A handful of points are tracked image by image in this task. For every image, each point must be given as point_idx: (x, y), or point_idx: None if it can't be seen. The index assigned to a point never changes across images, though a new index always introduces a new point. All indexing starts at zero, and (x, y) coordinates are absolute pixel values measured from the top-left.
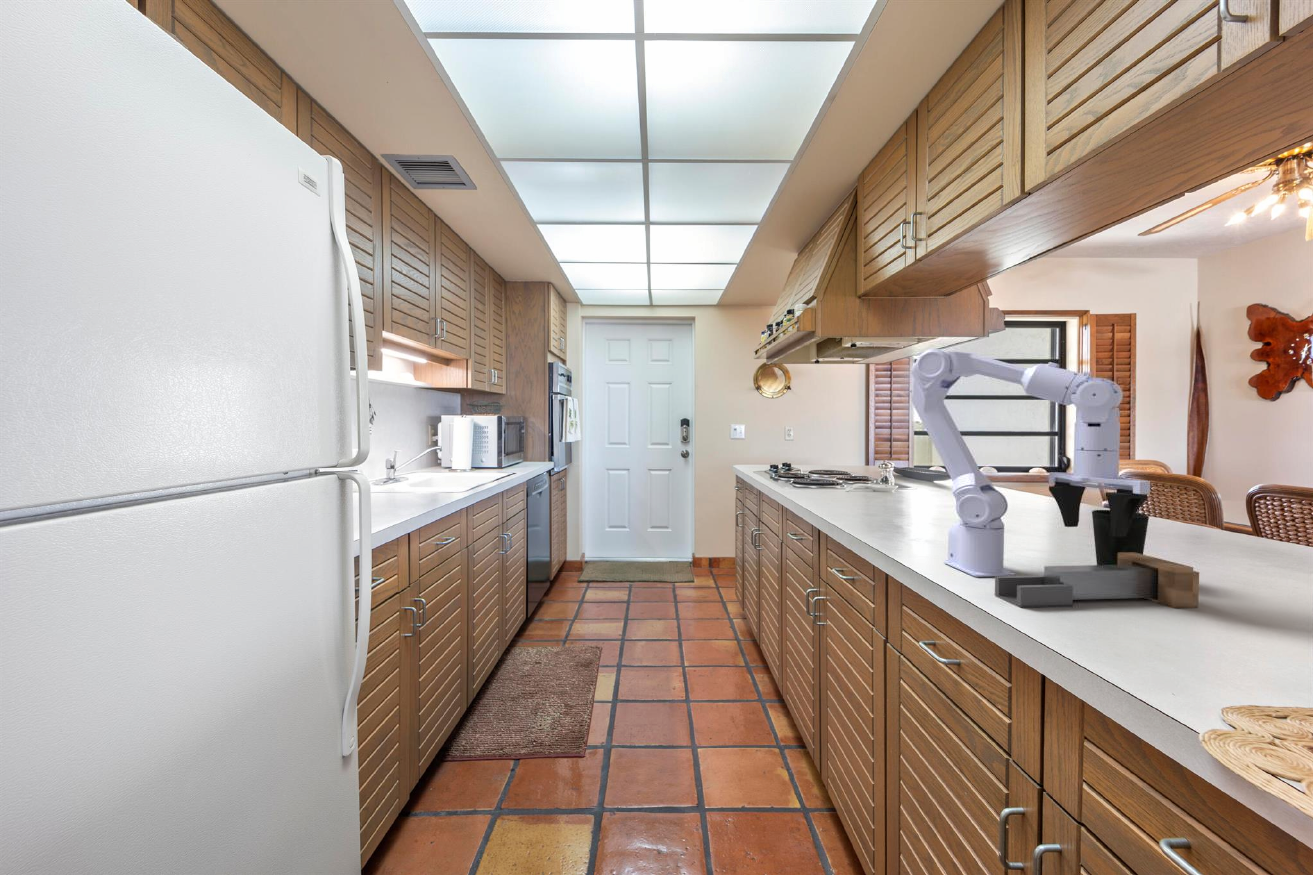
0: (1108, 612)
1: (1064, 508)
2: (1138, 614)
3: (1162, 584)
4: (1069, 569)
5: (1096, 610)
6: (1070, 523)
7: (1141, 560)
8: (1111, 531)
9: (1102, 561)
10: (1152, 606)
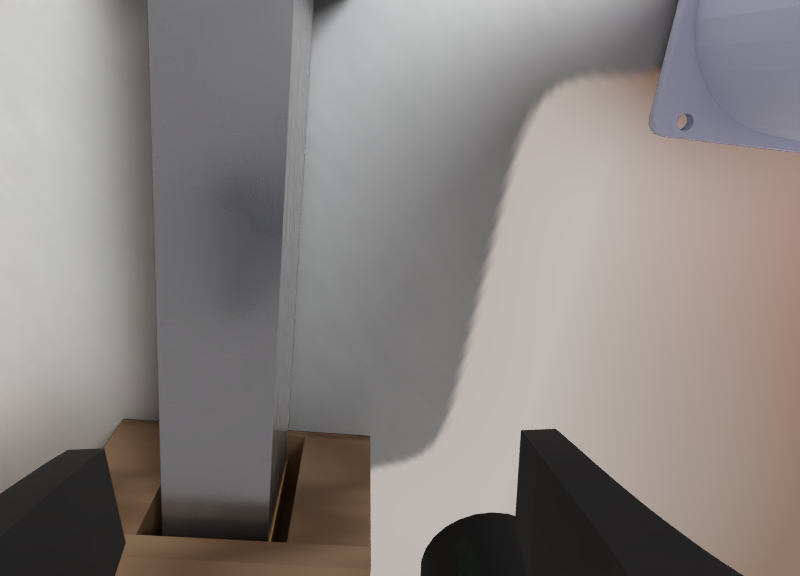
0: (76, 76)
1: (609, 544)
2: (50, 196)
3: (142, 477)
4: (199, 19)
5: (105, 41)
6: (528, 476)
7: (227, 553)
8: (74, 465)
9: (519, 570)
10: (149, 360)
